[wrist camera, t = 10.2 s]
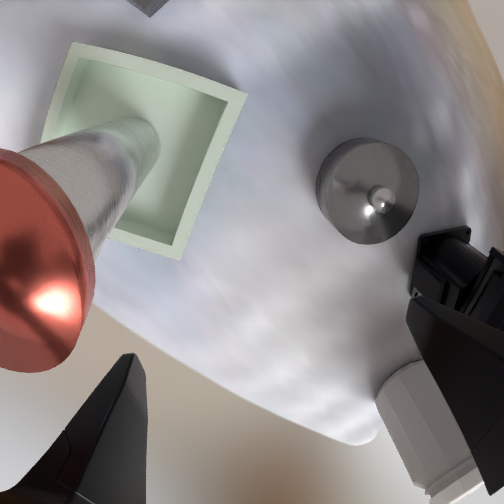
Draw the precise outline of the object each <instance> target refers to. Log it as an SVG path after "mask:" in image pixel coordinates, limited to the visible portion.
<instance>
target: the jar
mask: <svg viewBox="0 0 504 504" xmlns="http://www.w3.org/2000/svg"><path fill="white" fill-rule="evenodd" d="M375 403H376V406H377V409H378V412H379V414H380V416H381V418H382V420H383V422H384V424H385V426H386V428H387V429H388V432H389V434H390V436H391V438H392V439H393V442H394V444H395V446H396V448H397V450H398V452H399V454H400V456H401V458H402V460H403V462H404V465H405V467H406V469H407V471H408V473H409V475H410V477H411V479H412V481H413V484H414V485H415V486H417V487H420V488H423V489H426V490H425V495H430V496H431V499H430V500H429V503H430V504H455V503H456V502H458V501H460V500H461V499H462V498H464V497H466V496H467V495H469V494H470V493H472V492H473V491H475V490H476V489H478V488H479V487H480V486H482V485H483V484H484V481H483V479H482V477H481V474H480V472H479V470H478V467H477V465H476V463H475V461H474V458H473V456H472V454H471V452H470V451H471V450H470V449H469V447H468V445H467V443H466V441H465V439H464V436H463V434H462V432H461V430H460V428H459V426H458V424H457V422H456V420H455V418H454V416H453V414H452V412H451V410H450V408H449V406H448V404H447V402H446V400H445V399H444V397H443V395H442V393H441V391H440V389H439V387H438V385H437V384H436V382H435V380H434V378H433V376H432V374H431V373H430V371H429V369H428V367H427V366H426V364H425V362H424V360H419V361H415V362H411V363H409V364H407V365H406V366H404V367H402V368H401V369H399V370H397V371H396V372H395V373H393V374H392V375H391V376H390V377H389V378H388V379H387V380H386V381H385V382H384V383H383V385H382V387H381V389H380V391H379V393H378V395H377V398H376V402H375Z"/></svg>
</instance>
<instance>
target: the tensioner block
mask: <svg viewBox="0 0 504 504" xmlns="http://www.w3.org/2000/svg"><path fill="white" fill-rule="evenodd" d="M127 1H128V2H130V3H131V4H132V5H134V6H135V7H136V8H138V9H139V10H140V11H142V12H143V13H144V14H146V15H147V16H148V17H151V16H152V15H153V14H154V13H155V12H157V11H158V10H159V9H160V8H161V7H162V6H163V5H164V4H165V3H167V2H168V1H169V0H127Z"/></svg>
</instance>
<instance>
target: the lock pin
mask: <svg viewBox="0 0 504 504" xmlns="http://www.w3.org/2000/svg"><path fill="white" fill-rule="evenodd" d="M160 150H161V143H160V138H159V135H158V133H157V131H156V130H155V128H154V127H153V126H152V125H151V124H150V123H149V122H147V121H145V120H143V119H141V118H136V117H127V118H123V119H119V120H115V121H111V122H107V123H104V124H100V125H97V126H93V127H90V128H87V129H83V130H80V131H77V132H74V133H71V134H67V135H64V136H61V137H58V138H56V139H53V140H50V141H47V142H44V143H41V144H39V145H36V146H33V147H31V148H28V149H26V150H23V151H21V152H18V153H16V152H13V151H10V150H5V149H1V148H0V367H1V368H5V369H8V370H12V371H17V372H27V373H34V372H42V371H46V370H49V369H51V368H54V367H56V366H57V365H59V364H60V363H62V362H63V361H64V360H65V359H66V358H67V357H68V356H69V355H70V353H71V352H72V350H73V349H74V347H75V345H76V342H77V339H78V337H79V334H80V332H81V329H82V326H83V324H84V322H85V319H86V317H87V314H88V312H89V309H90V307H91V305H92V300H93V296H94V290H95V265H94V261H95V259H96V257H97V256H98V254H99V252H100V250H101V249H102V247H103V245H104V244H105V242H106V240H107V238H108V237H109V235H110V233H111V232H112V230H113V228H114V227H115V225H116V223H117V222H118V220H119V219H120V217H121V215H122V214H123V212H124V211H125V209H126V207H127V206H128V204H129V203H130V201H131V200H132V198H133V197H134V195H135V194H136V192H137V191H138V189H139V188H140V186H141V185H142V183H143V182H144V180H145V179H146V177H147V176H148V174H149V173H150V171H151V170H152V169H153V167H154V166H155V164H156V162H157V161H158V158H159V155H160Z"/></svg>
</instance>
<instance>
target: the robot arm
mask: <svg viewBox="0 0 504 504" xmlns="http://www.w3.org/2000/svg"><path fill="white" fill-rule="evenodd" d="M470 236H471V228H469V227H468V226H464V227H458V228H453V229H448V230H443V231H438V232H433V233H427V234H423V235H421V236H420V238H419V241H418V248H417V255H416V261H415V268H414V273H413V279H412V285H411V290H410V296H411V297H412V298H411V299H410V301H409V305H408V310H407V314H406V322H407V325H408V327H409V329H410V332H411V334H412V336H413V338H414V340H415V343H416V345H417V347H418V349H419V352H420V354H421V356H422V358H423V360H424V362H425V364H426V366H427V367H428V369H429V371H430V373H431V374H432V376H433V378H434V380H435V382H436V384H437V385H438V387H439V389H440V391H441V393H442V395H443V397H444V399H445V400H446V402H447V404H448V406H449V408H450V410H451V412H452V414H453V416H454V418H455V420H456V422H457V424H458V426H459V428H460V430H461V432H462V434H463V436H464V439H465V441H466V443H467V445H468V447H469V449H470V450H471V451H470V452H471V454H472V456H473V458H474V461H475V463H476V465H477V467H478V470H479V472H480V474H481V477H482V479H483V481H484V484H485V486H486V489H487V491H488V493H489V495H490V496H492V495H493V494H495V493H496V492H497V491H499V490H500V489H501V488H503V487H504V252H502V251H500V250H498V249H496V248H494V247H492V248H491V250H490V252H489V253H490V254H489V256H488V258H487V257H486V256H485V255H483V254H482V253H481V252H479V251H478V250H477V249H475V248H474V247H473V246H471V245H470V244H469V241H470ZM424 240H425V241H424ZM423 241H424V242H423ZM423 296H424V297H423ZM147 414H148V412H147V396H146V376H145V371H144V369H143V367H142V365H141V363H140V361H139V359H138V357H137V355H136V354H135V353H128V354H123V355H122V356H121V357H120V358H119V360H118V361H117V362H116V363H115V364H114V366H113V367H112V368H111V369H110V371H109V372H108V373H107V374H106V376H105V377H104V378H103V380H102V381H101V382H100V383H99V385H98V386H97V387H96V388H95V390H94V391H93V392H92V394H91V395H90V396H89V397H88V399H87V400H86V401H85V403H84V404H83V405H82V406H81V408H80V409H79V410H78V412H77V413H76V414H75V416H74V417H73V418H72V419H71V421H70V422H69V423H68V425H67V426H66V427H65V430H63V431H62V433H61V434H60V435H59V437H58V438H57V439H56V441H55V442H54V443H53V444H52V446H51V447H50V448H49V449H48V451H47V452H46V453H45V454H44V455H43V456H42V457H41V458H40V460H39V461H38V462H37V463H36V464H35V465H34V466H33V467H32V468H31V469H30V471H29V472H28V473H27V474H26V475H25V476H24V477H23V478H22V479H21V481H19V482H18V483H17V484H16V485H15V486H14V487H12V488H11V489H9V490H6V491H3V492H0V504H146V450H147V426H148V425H147V424H148V415H147Z"/></svg>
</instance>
